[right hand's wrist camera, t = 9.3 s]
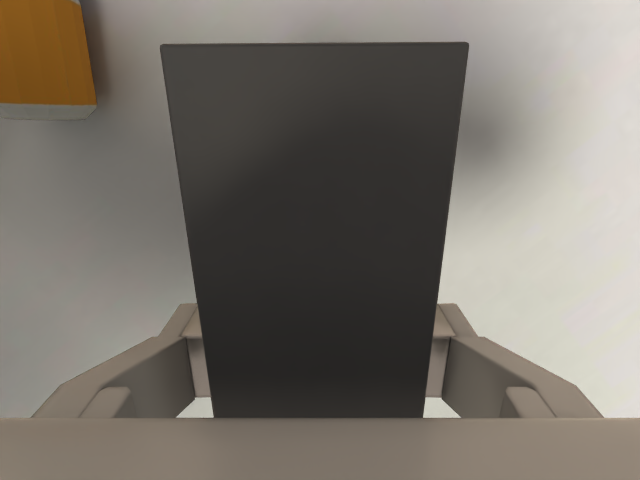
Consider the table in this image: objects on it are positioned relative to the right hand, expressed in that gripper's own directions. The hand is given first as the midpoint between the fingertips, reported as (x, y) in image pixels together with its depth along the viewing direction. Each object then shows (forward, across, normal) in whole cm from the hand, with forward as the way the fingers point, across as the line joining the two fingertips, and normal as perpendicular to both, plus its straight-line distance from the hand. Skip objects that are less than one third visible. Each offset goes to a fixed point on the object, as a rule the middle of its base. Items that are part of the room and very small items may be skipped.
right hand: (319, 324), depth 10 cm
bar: (+3, 0, -30) cm, 30 cm away
